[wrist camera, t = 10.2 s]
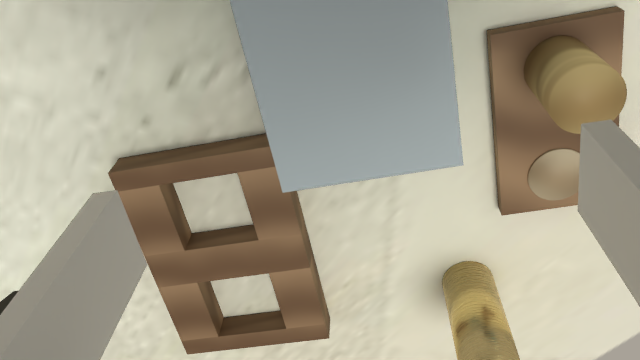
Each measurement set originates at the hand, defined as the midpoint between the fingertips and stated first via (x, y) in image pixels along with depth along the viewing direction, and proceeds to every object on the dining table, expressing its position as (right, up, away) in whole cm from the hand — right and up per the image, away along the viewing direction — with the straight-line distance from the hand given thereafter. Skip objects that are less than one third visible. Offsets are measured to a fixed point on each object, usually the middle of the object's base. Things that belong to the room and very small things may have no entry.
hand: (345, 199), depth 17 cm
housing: (+1, +10, +16) cm, 19 cm away
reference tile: (+13, +4, +19) cm, 23 cm away
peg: (+10, -7, +25) cm, 28 cm away
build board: (-7, -4, +25) cm, 26 cm away
